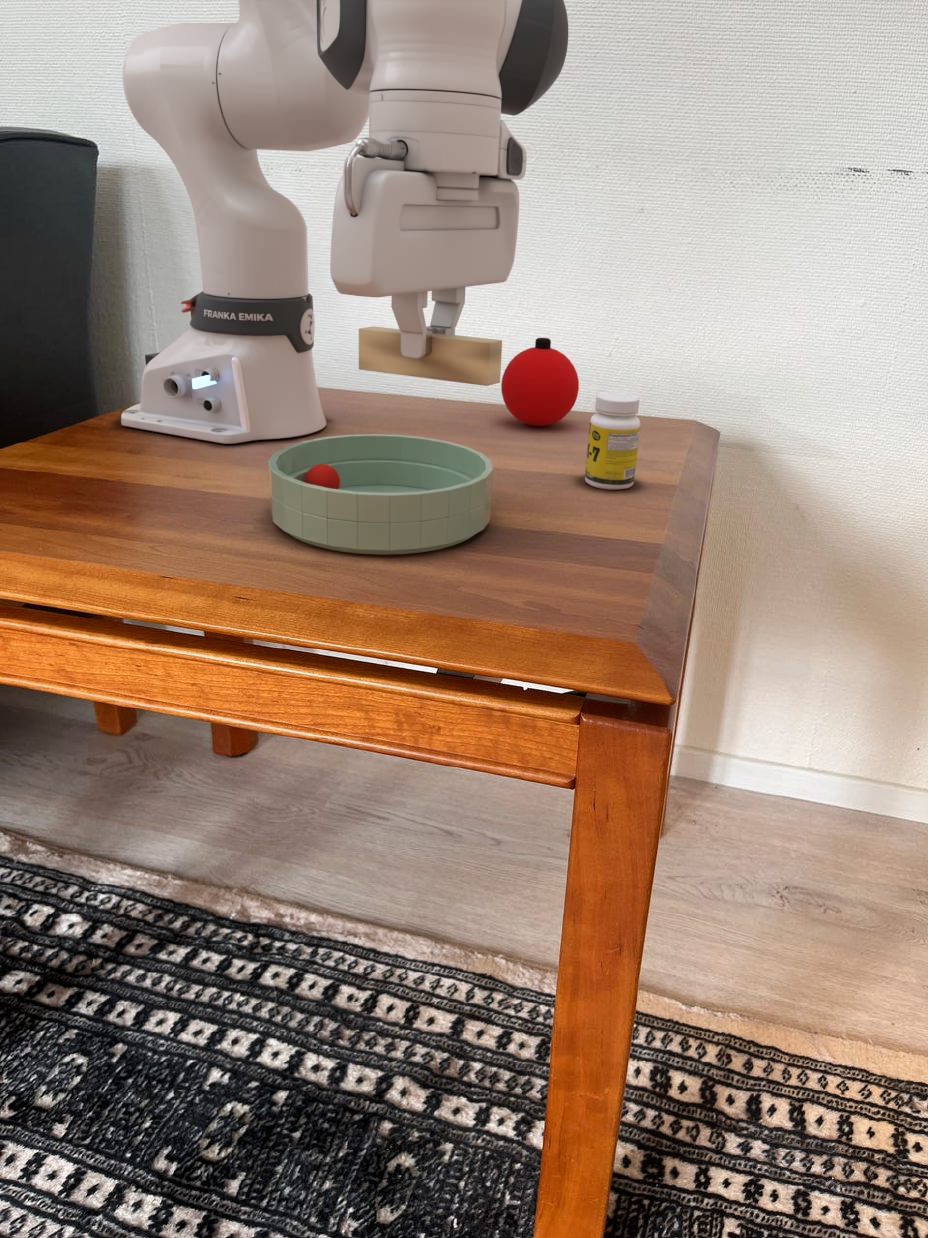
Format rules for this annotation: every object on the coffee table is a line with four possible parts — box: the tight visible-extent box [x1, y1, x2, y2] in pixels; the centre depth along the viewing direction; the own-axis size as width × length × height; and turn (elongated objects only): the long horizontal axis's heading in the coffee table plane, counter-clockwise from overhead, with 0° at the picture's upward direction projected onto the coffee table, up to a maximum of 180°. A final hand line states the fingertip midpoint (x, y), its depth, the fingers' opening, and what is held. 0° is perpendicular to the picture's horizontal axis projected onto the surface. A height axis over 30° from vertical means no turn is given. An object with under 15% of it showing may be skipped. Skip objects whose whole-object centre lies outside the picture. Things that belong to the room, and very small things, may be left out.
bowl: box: [267, 433, 494, 556], centre depth 82 cm, size 18×18×5 cm
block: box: [358, 325, 503, 387], centre depth 72 cm, size 11×2×3 cm, turn 61°
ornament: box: [500, 337, 580, 427], centre depth 114 cm, size 9×9×10 cm
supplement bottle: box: [584, 391, 641, 491], centre depth 94 cm, size 5×5×8 cm
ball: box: [305, 464, 340, 489], centre depth 85 cm, size 3×3×3 cm
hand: (428, 354), depth 72 cm, fingers closed on block, 2 cm apart
